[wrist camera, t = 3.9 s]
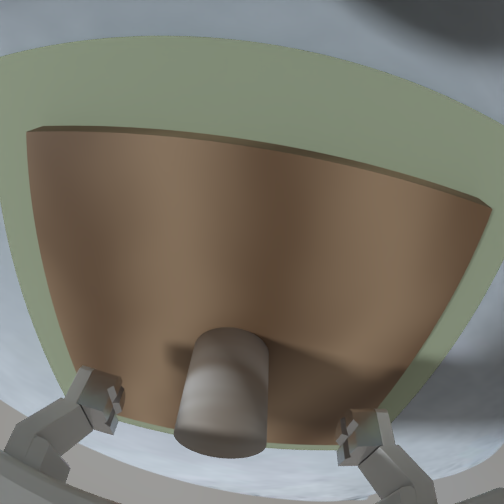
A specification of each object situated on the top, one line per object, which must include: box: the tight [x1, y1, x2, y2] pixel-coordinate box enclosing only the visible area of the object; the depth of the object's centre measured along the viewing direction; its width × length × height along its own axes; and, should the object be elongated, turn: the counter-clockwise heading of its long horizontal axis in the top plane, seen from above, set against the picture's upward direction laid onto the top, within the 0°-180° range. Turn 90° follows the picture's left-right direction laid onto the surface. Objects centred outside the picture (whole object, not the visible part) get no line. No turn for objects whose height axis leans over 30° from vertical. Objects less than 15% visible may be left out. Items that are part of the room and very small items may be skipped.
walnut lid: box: [26, 126, 492, 458], centre depth 11 cm, size 16×16×5 cm
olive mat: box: [0, 36, 504, 450], centre depth 13 cm, size 22×22×1 cm
